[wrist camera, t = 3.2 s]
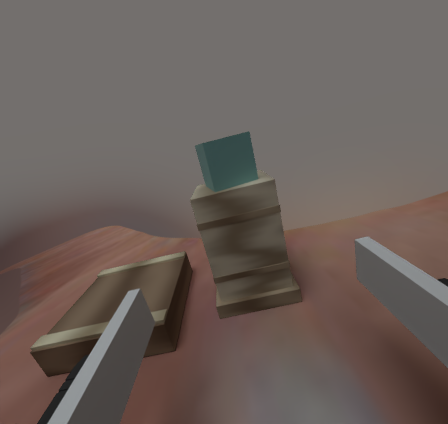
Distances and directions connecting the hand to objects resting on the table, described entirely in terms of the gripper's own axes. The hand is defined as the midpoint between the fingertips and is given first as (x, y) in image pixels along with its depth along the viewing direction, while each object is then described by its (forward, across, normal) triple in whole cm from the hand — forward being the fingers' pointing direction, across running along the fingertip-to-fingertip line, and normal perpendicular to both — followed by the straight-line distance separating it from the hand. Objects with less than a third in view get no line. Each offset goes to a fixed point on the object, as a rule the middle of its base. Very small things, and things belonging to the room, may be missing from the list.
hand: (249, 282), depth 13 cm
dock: (+9, -14, -7) cm, 18 cm away
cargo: (+9, 0, +5) cm, 10 cm away
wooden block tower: (+9, 0, -7) cm, 12 cm away
